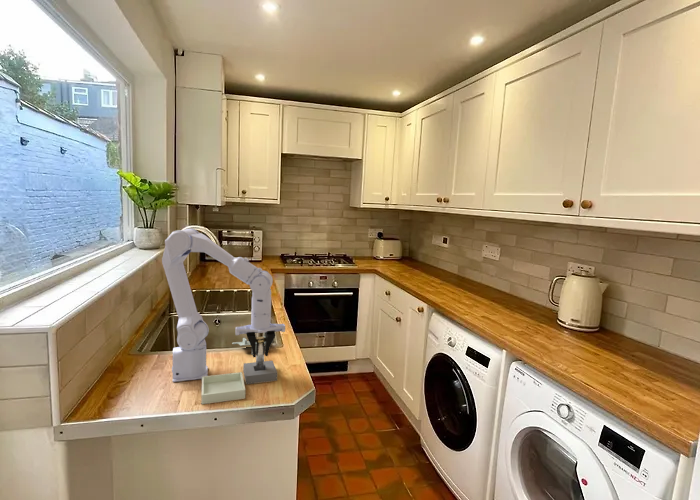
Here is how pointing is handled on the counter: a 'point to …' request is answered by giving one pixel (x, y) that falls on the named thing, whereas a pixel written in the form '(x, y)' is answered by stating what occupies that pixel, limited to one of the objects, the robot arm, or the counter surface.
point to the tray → (222, 388)
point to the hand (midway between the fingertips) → (260, 355)
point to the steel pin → (260, 351)
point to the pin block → (259, 372)
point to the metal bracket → (244, 342)
